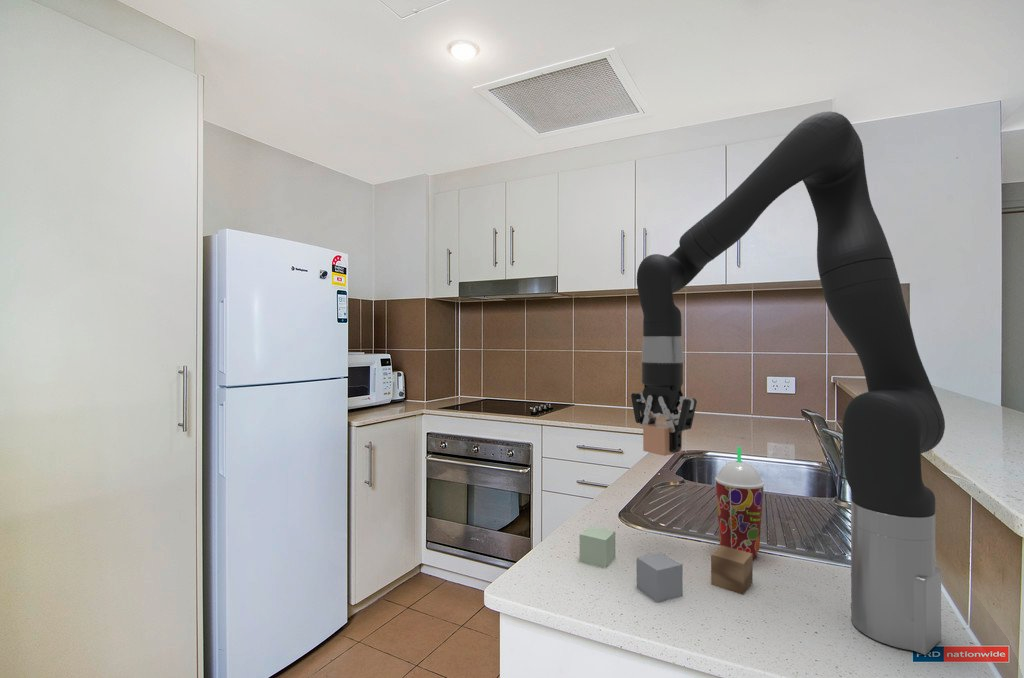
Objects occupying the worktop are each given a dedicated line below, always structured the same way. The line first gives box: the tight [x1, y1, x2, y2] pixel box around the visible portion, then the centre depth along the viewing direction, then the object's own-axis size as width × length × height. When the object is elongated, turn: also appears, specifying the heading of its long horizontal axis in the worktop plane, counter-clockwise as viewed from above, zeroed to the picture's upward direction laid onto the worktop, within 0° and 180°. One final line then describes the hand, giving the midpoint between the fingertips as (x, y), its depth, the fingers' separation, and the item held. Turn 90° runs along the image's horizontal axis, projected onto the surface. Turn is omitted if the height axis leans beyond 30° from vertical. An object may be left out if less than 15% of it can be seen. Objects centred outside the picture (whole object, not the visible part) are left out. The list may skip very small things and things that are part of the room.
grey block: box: [636, 551, 684, 603], centre depth 79 cm, size 5×5×5 cm
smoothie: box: [714, 446, 765, 559], centre depth 93 cm, size 8×8×20 cm
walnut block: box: [710, 545, 754, 596], centre depth 81 cm, size 5×5×5 cm
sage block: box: [579, 525, 616, 569], centre depth 90 cm, size 5×5×5 cm
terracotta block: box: [642, 422, 683, 457], centre depth 94 cm, size 5×5×5 cm
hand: (662, 448), depth 94 cm, fingers closed on terracotta block, 5 cm apart
